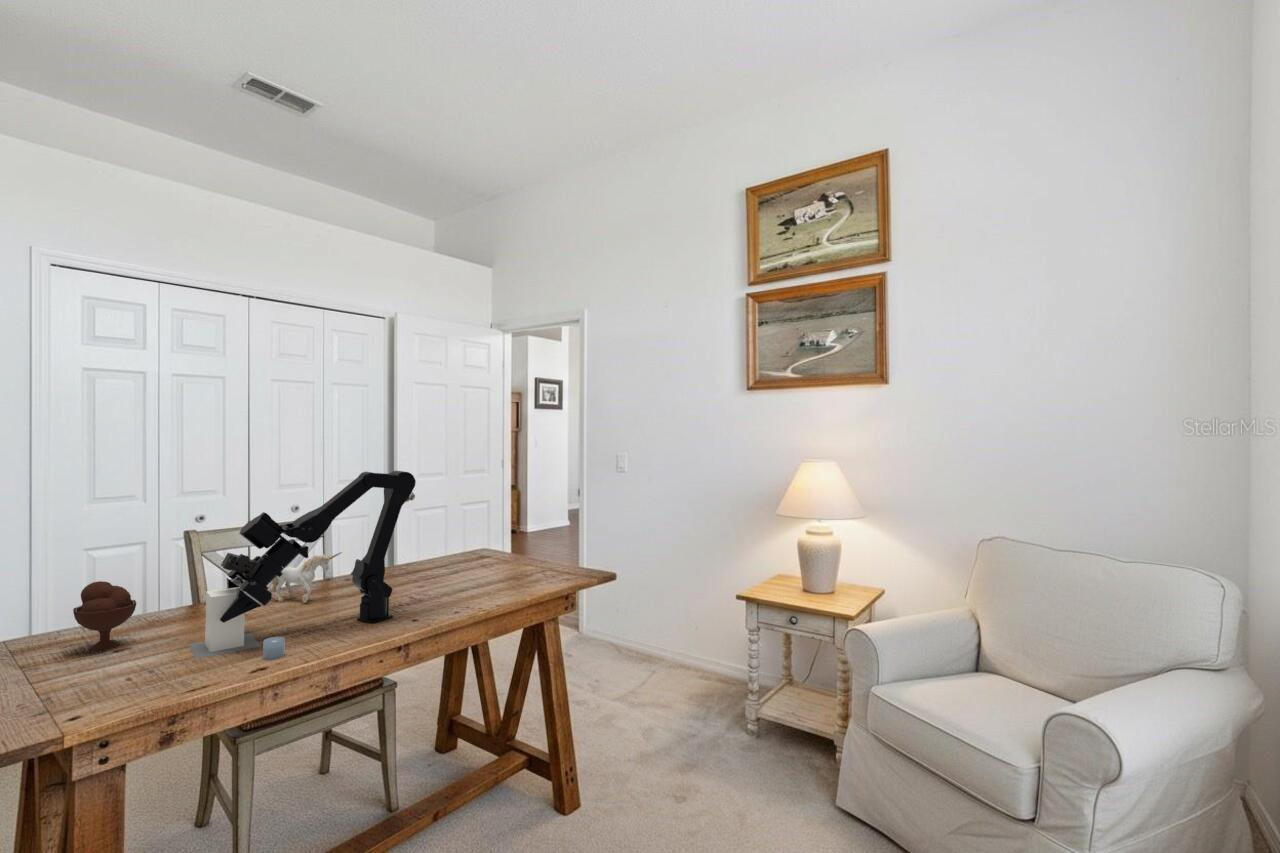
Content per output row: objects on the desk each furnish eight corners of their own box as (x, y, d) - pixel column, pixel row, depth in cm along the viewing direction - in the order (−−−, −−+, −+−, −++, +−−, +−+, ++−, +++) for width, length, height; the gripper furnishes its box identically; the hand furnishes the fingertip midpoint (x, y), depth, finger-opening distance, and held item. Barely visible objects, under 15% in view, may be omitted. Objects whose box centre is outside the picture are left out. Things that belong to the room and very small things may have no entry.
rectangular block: (238, 638, 145) (239, 587, 145) (244, 645, 141) (245, 592, 141) (205, 644, 141) (206, 591, 141) (209, 652, 136) (211, 597, 136)
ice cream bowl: (99, 658, 133) (101, 588, 133) (58, 654, 135) (59, 584, 135) (148, 642, 143) (149, 577, 143) (108, 638, 145) (110, 574, 145)
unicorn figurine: (332, 603, 177) (333, 556, 177) (259, 605, 174) (260, 557, 174) (341, 597, 184) (342, 551, 184) (271, 598, 181) (272, 552, 181)
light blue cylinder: (276, 653, 137) (277, 635, 137) (288, 656, 136) (288, 638, 136) (258, 659, 134) (259, 640, 134) (270, 662, 132) (271, 643, 132)
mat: (249, 634, 149) (249, 633, 149) (261, 648, 141) (261, 646, 141) (188, 645, 141) (188, 644, 141) (196, 660, 132) (196, 658, 132)
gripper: (238, 534, 151) (181, 587, 143) (256, 545, 137) (193, 604, 129) (274, 562, 156) (221, 615, 148) (295, 576, 142) (237, 634, 135)
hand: (217, 616), depth 140 cm, fingers open, 8 cm apart
